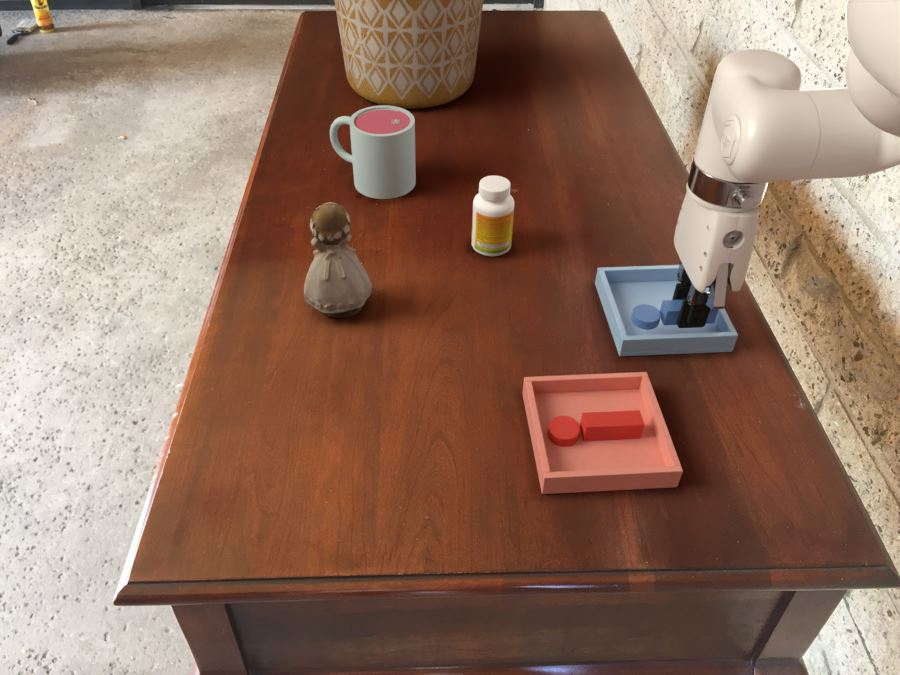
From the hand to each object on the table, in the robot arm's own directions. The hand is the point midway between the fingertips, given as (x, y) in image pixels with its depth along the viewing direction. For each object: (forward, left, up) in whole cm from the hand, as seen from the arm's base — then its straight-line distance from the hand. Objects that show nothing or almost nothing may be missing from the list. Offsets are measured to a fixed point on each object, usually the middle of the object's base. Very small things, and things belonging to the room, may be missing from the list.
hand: (686, 317), depth 90 cm
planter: (+69, +30, -3) cm, 75 cm away
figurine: (+7, +41, -3) cm, 41 cm away
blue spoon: (0, +2, 0) cm, 2 cm away
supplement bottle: (+19, +21, -3) cm, 28 cm away
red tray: (-15, +14, -3) cm, 20 cm away
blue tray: (+4, +2, -3) cm, 5 cm away
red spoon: (-15, +14, -2) cm, 20 cm away
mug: (+37, +37, -3) cm, 52 cm away
